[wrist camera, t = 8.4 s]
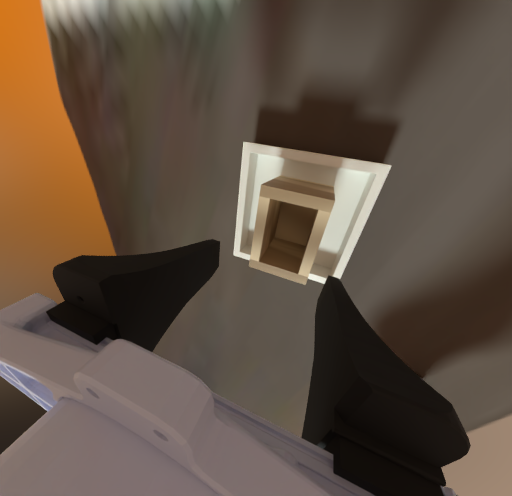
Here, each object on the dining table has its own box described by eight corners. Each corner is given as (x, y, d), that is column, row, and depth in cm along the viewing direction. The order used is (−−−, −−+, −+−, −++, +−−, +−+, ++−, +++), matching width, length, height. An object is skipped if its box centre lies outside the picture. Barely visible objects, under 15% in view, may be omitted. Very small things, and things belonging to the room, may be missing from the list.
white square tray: (335, 272, 21) (336, 287, 19) (243, 245, 24) (233, 255, 21) (382, 163, 16) (391, 165, 13) (254, 143, 18) (243, 141, 16)
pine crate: (311, 252, 20) (305, 284, 15) (267, 239, 21) (248, 266, 16) (333, 186, 17) (335, 200, 12) (280, 175, 18) (261, 184, 13)
